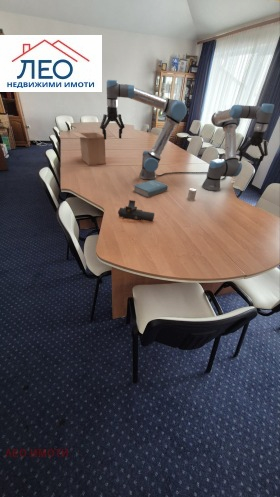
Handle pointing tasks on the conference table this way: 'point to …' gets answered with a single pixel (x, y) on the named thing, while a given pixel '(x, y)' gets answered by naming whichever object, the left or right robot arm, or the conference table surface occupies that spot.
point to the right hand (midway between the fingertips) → (248, 163)
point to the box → (92, 146)
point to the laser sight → (135, 213)
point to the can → (191, 194)
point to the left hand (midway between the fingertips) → (112, 138)
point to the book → (150, 188)
